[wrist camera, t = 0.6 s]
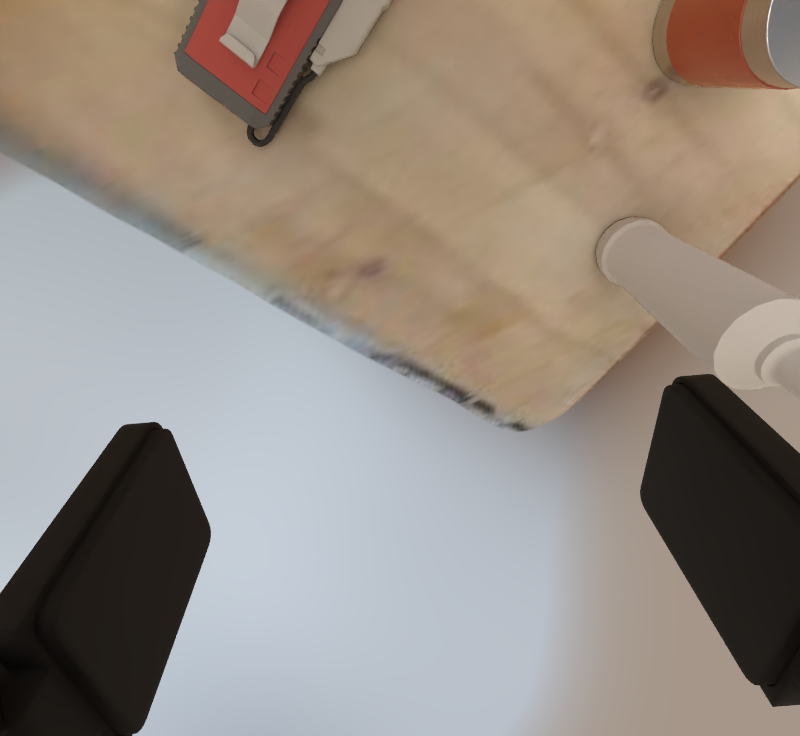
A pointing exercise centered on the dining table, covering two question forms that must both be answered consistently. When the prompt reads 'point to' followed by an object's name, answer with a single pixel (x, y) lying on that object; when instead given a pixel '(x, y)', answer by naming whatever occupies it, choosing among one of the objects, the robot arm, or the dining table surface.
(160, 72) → the dining table surface
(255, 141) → the walkie-talkie
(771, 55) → the tin can
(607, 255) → the bottle
